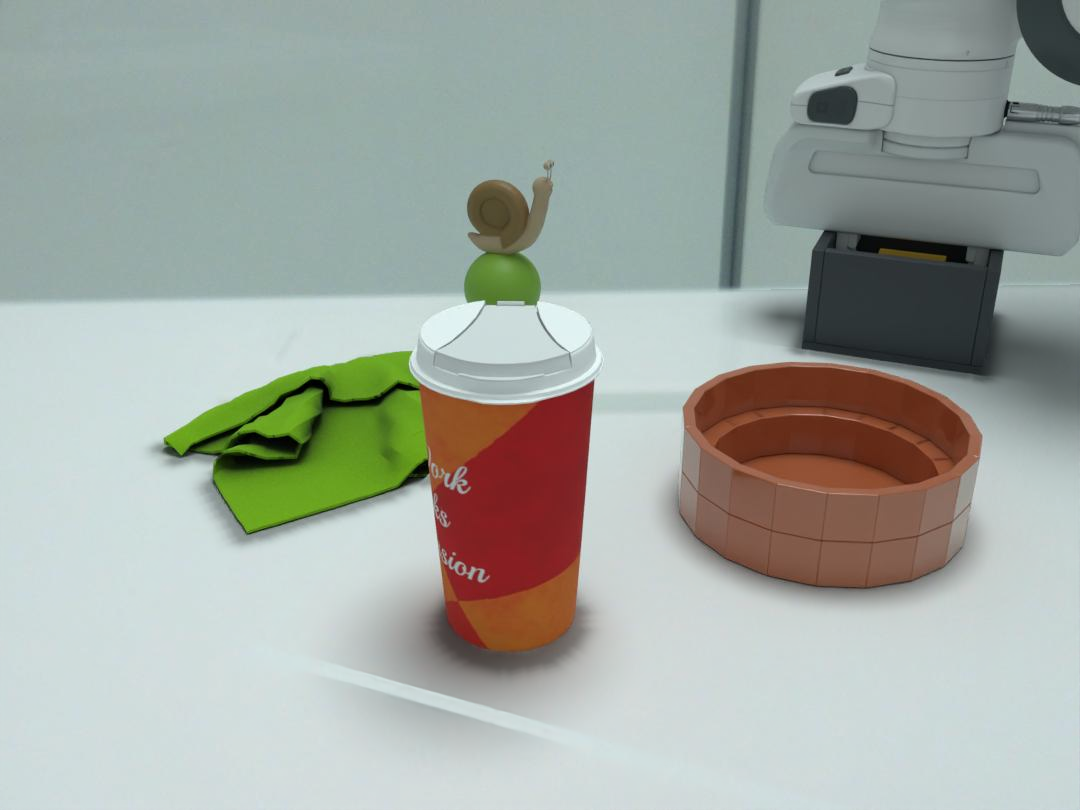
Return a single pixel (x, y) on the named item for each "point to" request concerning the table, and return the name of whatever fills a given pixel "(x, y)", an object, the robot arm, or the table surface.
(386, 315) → the table surface
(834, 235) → the bin
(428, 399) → the paper cup
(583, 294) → the table surface
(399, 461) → the cloth
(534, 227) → the snail figurine
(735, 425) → the bowl
